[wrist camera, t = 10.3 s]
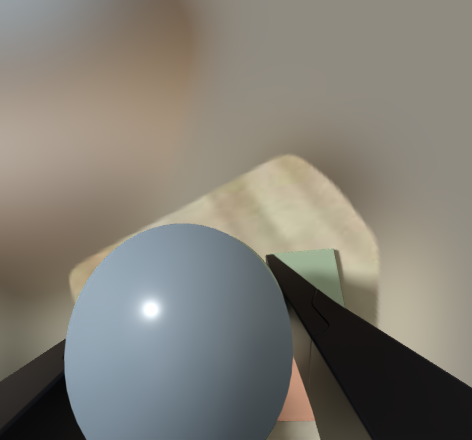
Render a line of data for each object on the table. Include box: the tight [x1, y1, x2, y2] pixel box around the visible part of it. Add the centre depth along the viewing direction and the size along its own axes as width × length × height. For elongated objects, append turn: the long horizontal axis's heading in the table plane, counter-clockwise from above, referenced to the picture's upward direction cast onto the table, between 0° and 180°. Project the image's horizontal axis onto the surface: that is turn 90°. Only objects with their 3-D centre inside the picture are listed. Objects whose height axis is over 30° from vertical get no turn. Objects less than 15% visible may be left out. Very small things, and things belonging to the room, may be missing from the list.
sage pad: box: [274, 249, 345, 308], centre depth 22 cm, size 7×7×1 cm
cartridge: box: [64, 224, 293, 440], centre depth 10 cm, size 5×5×12 cm
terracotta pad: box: [277, 356, 315, 421], centre depth 20 cm, size 7×7×1 cm
